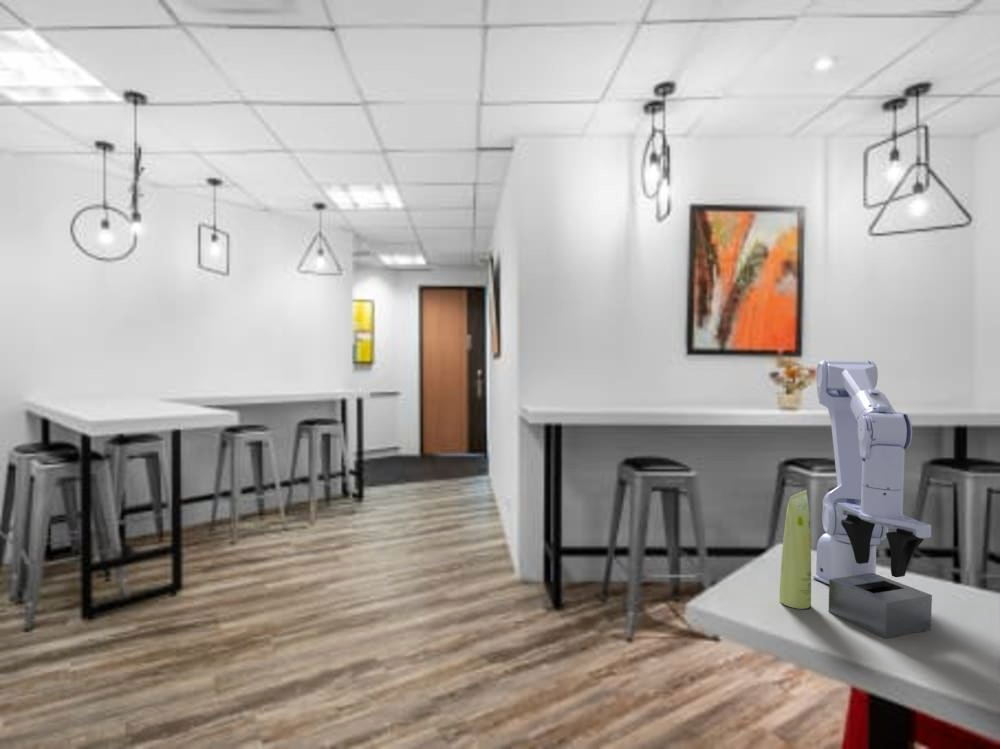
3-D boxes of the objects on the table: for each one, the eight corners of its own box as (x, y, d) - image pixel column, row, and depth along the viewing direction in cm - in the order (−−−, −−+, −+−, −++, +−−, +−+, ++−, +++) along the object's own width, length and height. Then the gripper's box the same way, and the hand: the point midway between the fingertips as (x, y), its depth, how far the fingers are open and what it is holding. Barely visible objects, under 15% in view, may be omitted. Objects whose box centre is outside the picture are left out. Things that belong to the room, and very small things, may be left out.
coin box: (828, 611, 97) (829, 579, 97) (871, 604, 101) (872, 572, 101) (885, 638, 88) (886, 602, 88) (930, 629, 91) (931, 595, 91)
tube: (818, 612, 97) (821, 497, 97) (786, 610, 98) (789, 495, 97) (803, 598, 103) (806, 489, 102) (774, 596, 103) (776, 488, 103)
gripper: (825, 479, 99) (823, 557, 100) (909, 498, 86) (906, 588, 86) (855, 476, 102) (853, 553, 102) (941, 495, 88) (939, 583, 88)
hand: (879, 569), depth 94 cm, fingers open, 6 cm apart
